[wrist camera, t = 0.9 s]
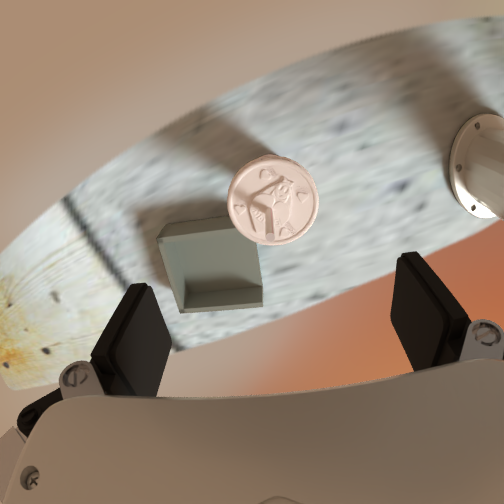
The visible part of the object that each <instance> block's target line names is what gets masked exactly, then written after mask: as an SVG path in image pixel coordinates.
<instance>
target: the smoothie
mask: <svg viewBox="0 0 504 504" xmlns="http://www.w3.org/2000/svg"><path fill="white" fill-rule="evenodd" d="M318 206H319V197H318V192H317V188H316V185H315V183H314V180H313V178H312V177H311V175H310V174H309V173H308V171H307V170H306V169H305V168H304V167H302V166H301V165H300V164H299V163H297V162H296V161H293V160H291V159H288V158H286V157H280V156H277V155H273V154H267V155H263V156H261V157H259V158H257V159H255V160H252V161H250V162H248V163H247V164H246V165H244V166H243V167H242V168H241V169H239V171H238V172H237V173H236V175H235V176H234V177H233V179H232V182H231V184H230V187H229V189H228V197H227V207H228V212H229V216H230V218H231V221H232V222H233V224H234V226H235V227H236V228H237V230H238V231H239V232H240V233H241V234H243V235H244V236H245V237H247V238H248V239H250V240H252V241H254V242H257V243H260V244H264V245H282V244H286V243H289V242H292V241H294V240H296V239H298V238H299V237H301V236H302V235H303V234H304V233H305V232H306V231H307V230H308V229H309V228H310V227H311V225H312V224H313V222H314V220H315V218H316V215H317V212H318Z"/></svg>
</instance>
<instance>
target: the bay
mask: <svg viewBox="0 0 504 504" xmlns="http://www.w3.org/2000/svg"><path fill="white" fill-rule="evenodd" d="M156 239H157V242H158V246H159V249H160V253H161V256H162V259H163V263H164V266H165V269H166V272H167V275H168V279H169V282H170V285H171V288H172V291H173V294H174V297H175V300H176V303H177V306H178V309H179V312H180V313H195V312H209V311H222V310H234V309H245V308H256V307H263V284H262V278H261V271H260V265H259V258H258V252H257V245H256V242H254V241H252V240H250V239H248V238H247V237H245V236H244V235H243V234H241V233H240V232H239V231H238V230H237V228H236V227H235V226H234V224H233V222H232V221H231V218H230V216H223V217H216V218H208V219H201V220H194V221H187V222H180V223H173V224H167V225H166V226H165V227H164V228H163V230H162V231H161V233H160V234H159V235H158V237H157V238H156Z"/></svg>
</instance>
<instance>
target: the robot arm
mask: <svg viewBox="0 0 504 504" xmlns="http://www.w3.org/2000/svg"><path fill="white" fill-rule="evenodd" d="M449 174H450V182H451V186H452V190H453V192H454V195H455V197H456V199H457V200H458V202H459V204H460V205H461V206H462V207H463V208H464V209H465V210H466V211H468V212H469V213H470V214H472V215H474V216H476V217H479V218H491V217H494V216H498V217H499V218H500V219H502V220H503V221H504V118H502V117H500V116H497V115H494V114H487V113H485V114H479V115H476V116H474V117H472V118H471V119H469V120H468V121H467V122H466V123H465V124H464V125H463V126H462V128H461V129H460V130H459V132H458V134H457V136H456V138H455V140H454V143H453V146H452V149H451V155H450V163H449ZM390 316H391V322H392V325H393V327H394V329H395V331H396V333H397V335H398V337H399V339H400V341H401V343H402V346H403V348H404V350H405V352H406V354H407V357H408V359H409V361H410V363H411V365H412V368H413V370H414V372H410V373H406V374H401V375H396V376H391V377H387V378H382V379H377V380H372V381H366V382H360V383H355V384H349V385H342V386H336V387H329V388H322V389H314V390H306V391H297V392H287V393H277V394H265V395H250V396H230V397H156V395H157V392H158V389H159V385H160V382H161V379H162V375H163V372H164V369H165V365H166V362H167V359H168V356H169V352H170V349H171V346H172V340H171V337H170V334H169V332H168V329H167V326H166V324H165V321H164V319H163V316H162V314H161V311H160V308H159V306H158V303H157V300H156V297H155V295H154V292H153V289H152V287H151V286H148V285H147V284H146V283H136V284H131V285H130V287H129V288H128V290H127V292H126V293H125V295H124V296H123V298H122V300H121V302H120V303H119V305H118V307H117V308H116V310H115V312H114V313H113V315H112V317H111V319H110V320H109V322H108V324H107V326H106V327H105V329H104V331H103V333H102V334H101V336H100V338H99V340H98V342H97V343H96V345H95V347H94V349H93V351H92V353H91V355H90V356H91V357H92V359H91V360H90V362H87V361H77V362H74V363H72V364H70V365H68V366H67V367H66V368H65V369H64V370H63V371H62V373H61V374H60V377H59V385H60V388H58V389H56V390H55V391H53V392H51V393H49V394H48V395H46V396H44V397H42V398H41V399H39V400H37V401H35V402H34V403H32V404H30V405H28V406H27V407H25V408H24V409H23V410H22V411H21V413H20V414H19V416H18V419H17V426H18V427H17V428H14V427H12V428H11V429H9V430H8V431H7V432H6V433H5V434H4V435H3V436H2V437H1V438H0V500H1V502H2V504H504V332H503V330H502V328H501V327H500V326H499V325H497V324H496V323H494V322H492V321H490V320H485V319H480V320H476V321H473V322H471V320H470V319H469V317H468V315H467V313H466V312H465V310H464V309H463V308H462V307H461V305H460V304H459V303H458V301H457V300H456V299H455V297H454V296H453V295H452V293H451V292H450V291H449V290H448V288H447V287H446V286H445V285H444V283H443V282H442V281H441V280H440V278H439V277H438V276H437V275H436V274H435V272H434V271H433V270H432V269H431V268H430V267H429V265H428V264H427V263H426V262H425V260H424V259H423V258H422V257H421V256H420V255H419V253H418V252H416V251H415V252H407V253H402V255H401V257H399V258H398V259H397V265H396V276H395V285H394V292H393V300H392V307H391V315H390Z"/></svg>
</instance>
